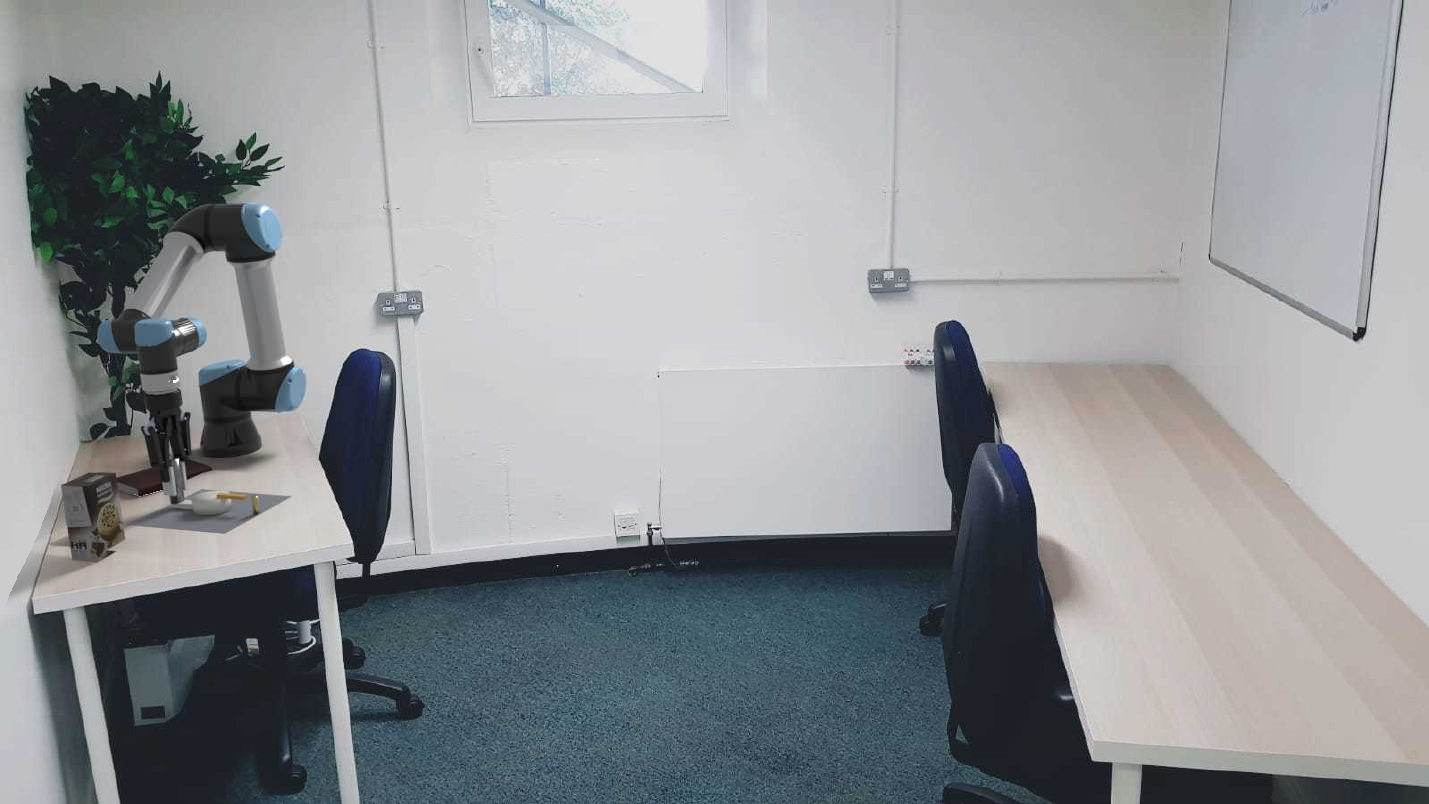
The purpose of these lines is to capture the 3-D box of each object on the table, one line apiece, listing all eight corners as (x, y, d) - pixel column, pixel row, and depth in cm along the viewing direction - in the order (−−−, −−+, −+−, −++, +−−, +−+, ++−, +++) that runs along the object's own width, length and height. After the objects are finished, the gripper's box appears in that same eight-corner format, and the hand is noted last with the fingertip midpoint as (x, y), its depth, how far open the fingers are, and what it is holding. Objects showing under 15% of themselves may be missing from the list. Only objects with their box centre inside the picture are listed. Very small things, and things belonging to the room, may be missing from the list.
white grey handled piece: (258, 506, 268) (253, 459, 265) (236, 518, 261) (230, 470, 258) (184, 499, 273) (178, 453, 270) (160, 511, 266) (153, 464, 263)
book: (214, 478, 296) (212, 465, 295) (139, 500, 281) (137, 486, 280) (185, 469, 303) (183, 457, 302) (110, 490, 288) (108, 477, 287)
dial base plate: (202, 495, 282) (199, 472, 280) (292, 502, 275) (290, 479, 274) (129, 531, 259) (125, 507, 258) (225, 540, 253) (222, 515, 252)
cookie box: (99, 562, 242) (87, 486, 238) (71, 560, 243) (58, 485, 239) (128, 545, 251) (117, 471, 247) (100, 544, 252) (88, 470, 248)
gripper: (150, 400, 254) (165, 505, 260) (200, 382, 269) (213, 482, 275) (120, 398, 256) (136, 503, 262) (172, 380, 271) (185, 479, 277)
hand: (176, 492), depth 268 cm, fingers closed on white grey handled piece, 3 cm apart
